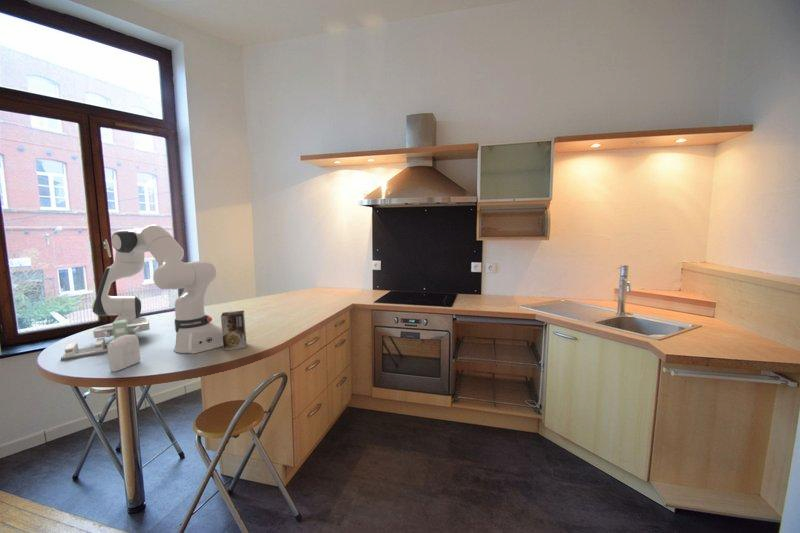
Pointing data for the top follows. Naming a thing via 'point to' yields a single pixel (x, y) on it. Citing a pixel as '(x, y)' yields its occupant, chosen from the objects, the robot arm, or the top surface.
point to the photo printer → (123, 352)
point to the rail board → (84, 350)
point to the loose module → (120, 328)
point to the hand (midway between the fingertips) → (121, 333)
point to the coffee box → (233, 330)
